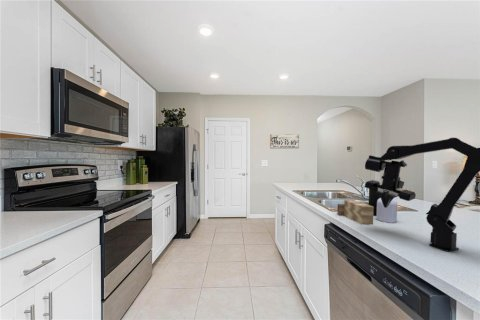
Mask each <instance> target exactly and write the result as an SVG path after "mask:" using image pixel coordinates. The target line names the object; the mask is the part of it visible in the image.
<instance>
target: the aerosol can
mask: <svg viewBox="0 0 480 320" xmlns="http://www.w3.org/2000/svg"><path fill="white" fill-rule="evenodd" d="M374 181H377V182H380V180H378V179H376V180H374ZM377 191H378V188H375V187H373V188H372V189H369V188H368V205H370V206H373V207H374V210H373V217H377V200H378V199H380V196H379V194H378V193H377Z"/></svg>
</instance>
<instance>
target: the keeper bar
mask: <svg viewBox="0 0 480 320" xmlns="http://www.w3.org/2000/svg"><path fill="white" fill-rule="evenodd" d="M343 204H344V216H343V217H345V218H348V219H350V220H352V221H354V222H355V223H358V224H360V225H373V224H374V216H373V210H374V207H373V206H370V205H369V204H368V203H367V204H366V203H364V202H361V201H358V200H354V199H344V203H343Z"/></svg>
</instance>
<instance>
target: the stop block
mask: <svg viewBox="0 0 480 320" xmlns="http://www.w3.org/2000/svg"><path fill="white" fill-rule="evenodd" d="M336 209H337V213H336V214H337V215H338V216H339V217H341V216H342V217H345V216H344V203H338V204H337V208H336Z"/></svg>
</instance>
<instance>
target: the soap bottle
mask: <svg viewBox="0 0 480 320" xmlns="http://www.w3.org/2000/svg"><path fill="white" fill-rule="evenodd" d="M383 175H384V173H383V174H382V176H383ZM375 217H376V220H378V221H379V222H382V223H383V222H384V223H390V224H391V223H393V224H394V223H397V222H398V202H397V201H396V199H395V198H393V200H392V201H391V202H390V204H389V205H388V207H387V208H385V207H384V206H383V203H382V200H381V198H380V199H378V200H377V216H375Z"/></svg>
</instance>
